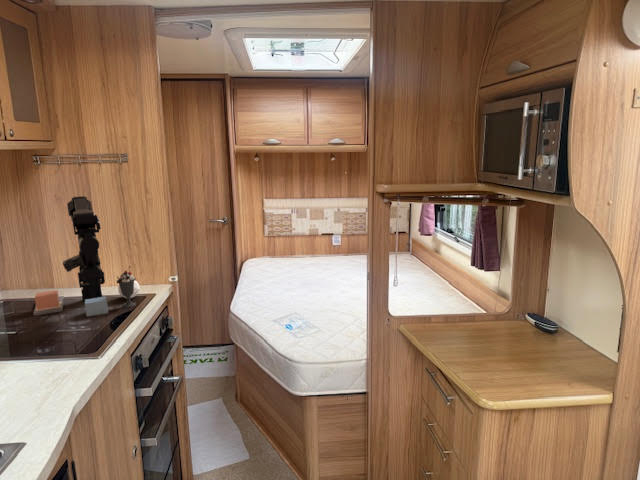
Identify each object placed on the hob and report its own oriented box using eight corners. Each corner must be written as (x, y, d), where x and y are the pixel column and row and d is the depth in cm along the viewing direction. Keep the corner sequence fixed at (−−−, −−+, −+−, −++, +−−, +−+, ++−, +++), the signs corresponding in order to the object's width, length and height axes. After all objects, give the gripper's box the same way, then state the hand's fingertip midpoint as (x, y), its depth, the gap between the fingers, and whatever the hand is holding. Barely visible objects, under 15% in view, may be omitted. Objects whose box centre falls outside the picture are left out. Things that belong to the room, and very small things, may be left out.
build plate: (63, 298, 178) (63, 295, 177) (62, 311, 164) (61, 308, 164) (37, 302, 174) (37, 299, 173) (33, 315, 160) (33, 312, 160)
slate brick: (107, 309, 166) (106, 296, 165) (108, 313, 162) (106, 300, 161) (86, 312, 163) (85, 299, 162) (86, 316, 159) (84, 303, 158)
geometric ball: (125, 305, 176) (110, 292, 173) (135, 292, 183) (120, 279, 180) (137, 298, 173) (122, 284, 170) (147, 285, 180) (132, 271, 177)
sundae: (141, 302, 172) (137, 265, 169) (133, 308, 165) (128, 270, 162) (125, 301, 173) (121, 264, 169) (116, 308, 166) (111, 269, 163)
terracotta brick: (59, 302, 170) (57, 290, 169) (58, 306, 166) (56, 293, 165) (38, 305, 167) (36, 293, 166) (37, 309, 163) (34, 296, 162)
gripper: (63, 244, 161) (69, 285, 165) (61, 256, 145) (68, 301, 149) (97, 241, 166) (102, 280, 170) (99, 252, 150) (104, 295, 154)
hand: (94, 289), depth 160 cm, fingers open, 9 cm apart
